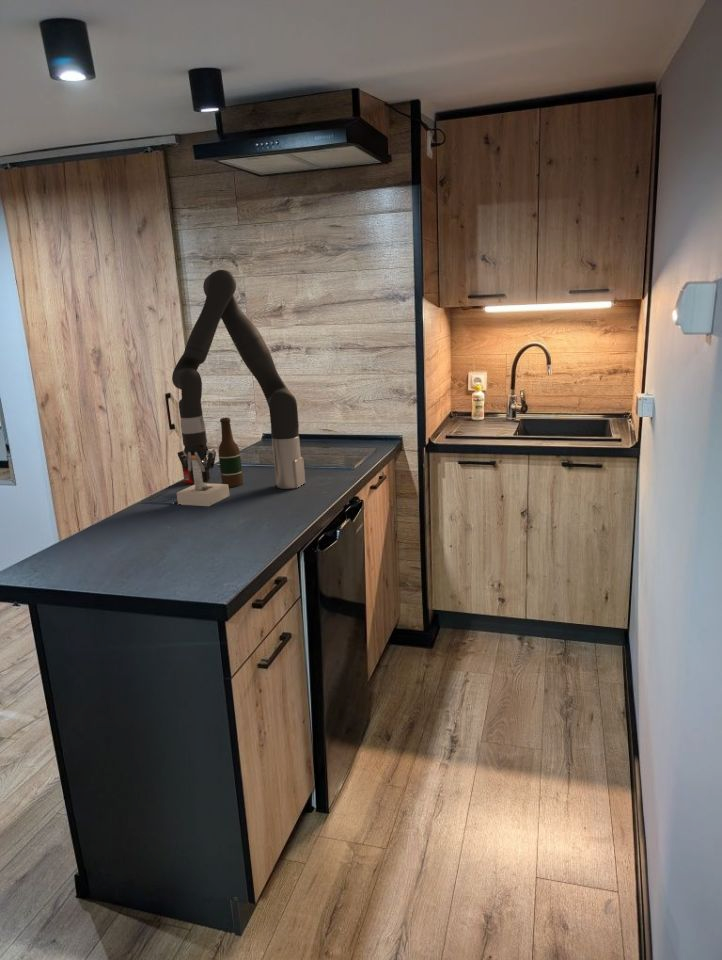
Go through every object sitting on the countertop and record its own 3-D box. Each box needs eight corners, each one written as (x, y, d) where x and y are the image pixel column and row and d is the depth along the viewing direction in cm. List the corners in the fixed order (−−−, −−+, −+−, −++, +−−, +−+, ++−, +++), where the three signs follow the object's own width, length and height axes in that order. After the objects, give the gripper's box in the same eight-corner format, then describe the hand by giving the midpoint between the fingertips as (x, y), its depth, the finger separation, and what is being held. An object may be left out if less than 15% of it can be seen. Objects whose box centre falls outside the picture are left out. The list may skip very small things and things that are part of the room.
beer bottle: (246, 481, 244) (238, 415, 238) (240, 487, 236) (232, 419, 230) (225, 482, 245) (217, 416, 239) (219, 488, 237) (210, 420, 231)
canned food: (203, 483, 245) (199, 454, 242) (181, 485, 245) (177, 455, 243) (208, 478, 252) (204, 449, 250) (187, 479, 253) (183, 451, 250)
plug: (211, 497, 223) (205, 452, 220) (204, 500, 220) (198, 455, 216) (201, 496, 225) (195, 452, 221) (194, 499, 221) (187, 455, 218)
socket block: (229, 495, 226) (228, 484, 225) (208, 506, 216) (207, 494, 215) (199, 494, 231) (198, 482, 230) (178, 504, 220) (176, 492, 219)
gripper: (218, 428, 217) (225, 479, 222) (182, 427, 223) (189, 478, 227) (205, 432, 211) (212, 485, 215) (168, 432, 216) (175, 484, 220)
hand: (200, 481), depth 221 cm, fingers closed on plug, 4 cm apart
